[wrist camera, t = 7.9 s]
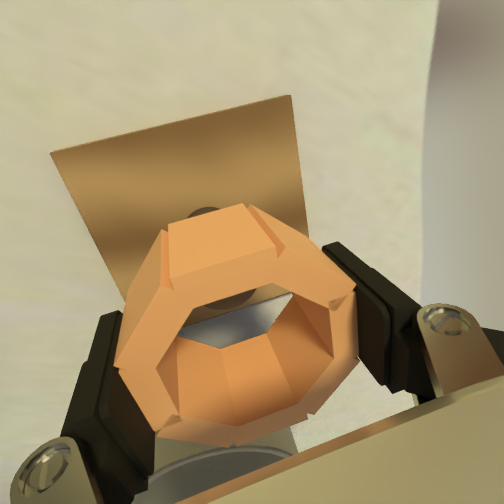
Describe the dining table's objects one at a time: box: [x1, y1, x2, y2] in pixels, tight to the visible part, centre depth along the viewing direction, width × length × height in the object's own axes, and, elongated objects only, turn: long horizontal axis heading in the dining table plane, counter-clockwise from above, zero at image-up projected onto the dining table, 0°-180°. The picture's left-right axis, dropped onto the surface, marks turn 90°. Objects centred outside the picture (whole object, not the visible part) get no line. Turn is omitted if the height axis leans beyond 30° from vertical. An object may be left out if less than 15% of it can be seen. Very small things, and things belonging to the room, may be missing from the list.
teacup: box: [131, 426, 298, 504], centre depth 21 cm, size 14×11×8 cm
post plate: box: [50, 95, 309, 328], centre depth 16 cm, size 12×12×6 cm
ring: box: [113, 203, 360, 448], centre depth 11 cm, size 7×7×4 cm
